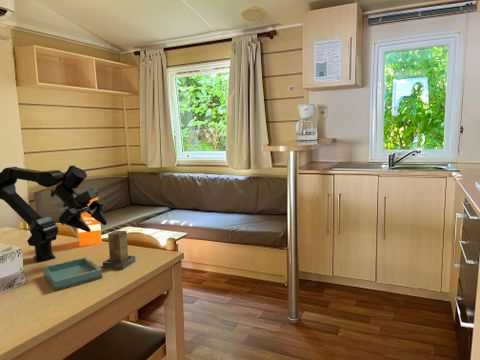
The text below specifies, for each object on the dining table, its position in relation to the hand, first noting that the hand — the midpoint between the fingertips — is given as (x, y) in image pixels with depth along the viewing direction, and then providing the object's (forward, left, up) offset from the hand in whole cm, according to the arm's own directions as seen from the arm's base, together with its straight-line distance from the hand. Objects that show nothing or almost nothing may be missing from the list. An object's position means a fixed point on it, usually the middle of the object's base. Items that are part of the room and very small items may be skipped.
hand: (98, 227), depth 128 cm
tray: (+6, -12, -13) cm, 19 cm away
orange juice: (-29, +5, -14) cm, 32 cm away
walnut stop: (+6, +4, -13) cm, 15 cm away
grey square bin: (+6, +4, -13) cm, 15 cm away
